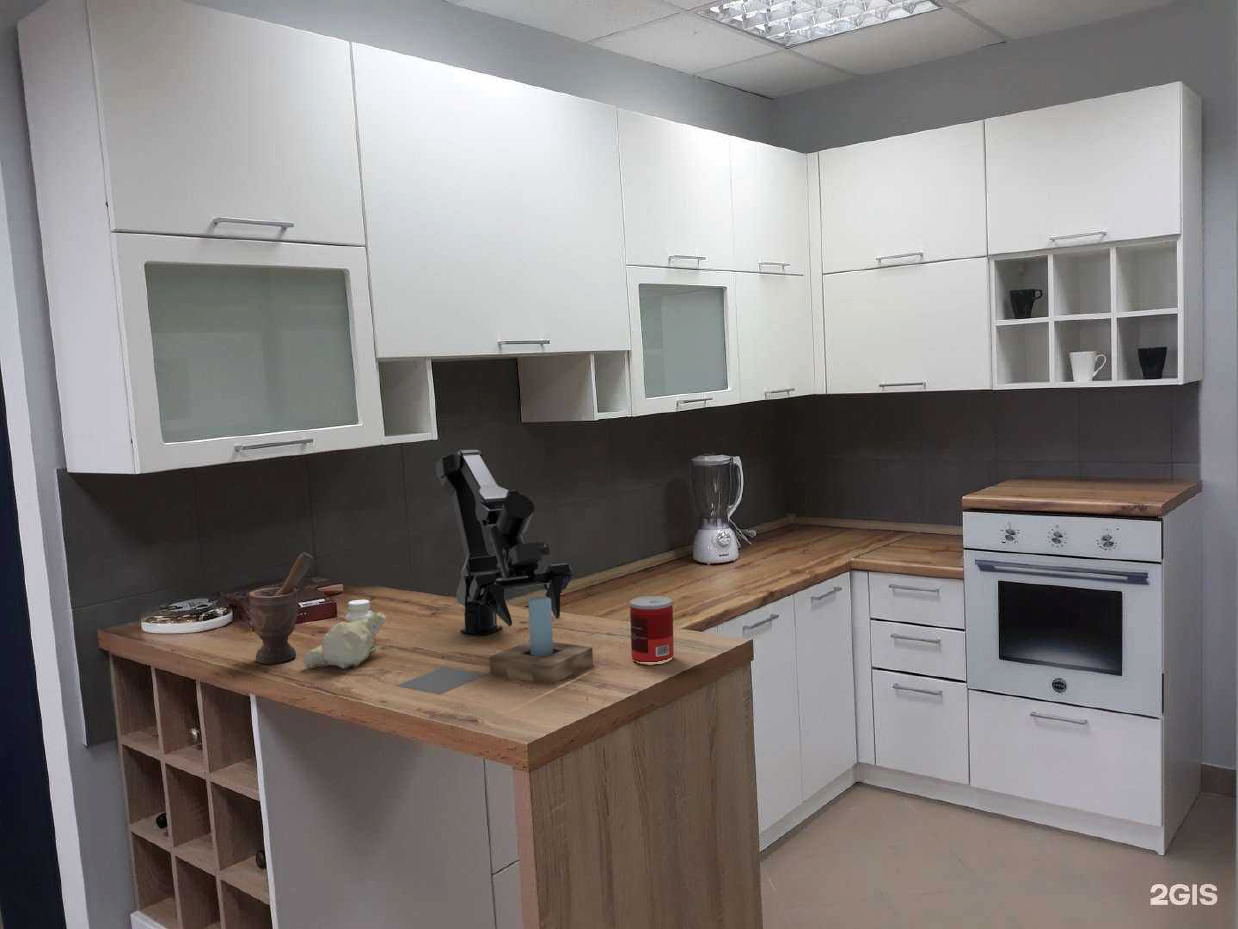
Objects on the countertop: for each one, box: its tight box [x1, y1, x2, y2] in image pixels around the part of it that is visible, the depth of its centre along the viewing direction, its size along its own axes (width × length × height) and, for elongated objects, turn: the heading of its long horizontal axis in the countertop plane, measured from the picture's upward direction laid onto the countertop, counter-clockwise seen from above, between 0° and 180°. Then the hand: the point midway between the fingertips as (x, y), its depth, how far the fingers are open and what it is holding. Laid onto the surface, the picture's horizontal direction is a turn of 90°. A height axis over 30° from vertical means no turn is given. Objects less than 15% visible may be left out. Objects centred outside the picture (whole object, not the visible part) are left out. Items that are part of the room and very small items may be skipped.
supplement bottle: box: [345, 599, 377, 653], centre depth 194 cm, size 5×5×10 cm
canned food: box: [629, 595, 675, 662], centre depth 182 cm, size 8×8×11 cm
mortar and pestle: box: [248, 552, 314, 665], centre depth 190 cm, size 12×9×20 cm
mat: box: [395, 666, 487, 695], centre depth 173 cm, size 12×10×1 cm
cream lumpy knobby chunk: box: [302, 611, 387, 669], centre depth 185 cm, size 15×7×15 cm
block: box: [489, 640, 594, 686], centre depth 177 cm, size 13×13×4 cm
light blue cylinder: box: [528, 596, 554, 658], centre depth 177 cm, size 4×4×13 cm
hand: (534, 621), depth 179 cm, fingers open, 9 cm apart
